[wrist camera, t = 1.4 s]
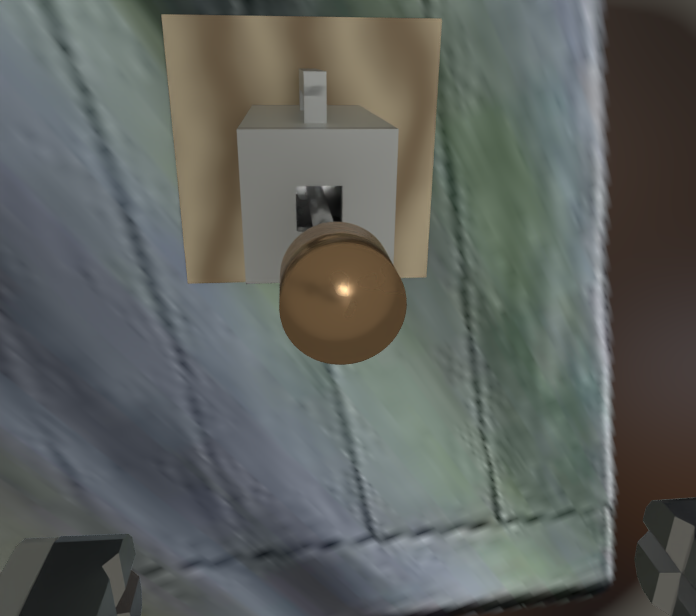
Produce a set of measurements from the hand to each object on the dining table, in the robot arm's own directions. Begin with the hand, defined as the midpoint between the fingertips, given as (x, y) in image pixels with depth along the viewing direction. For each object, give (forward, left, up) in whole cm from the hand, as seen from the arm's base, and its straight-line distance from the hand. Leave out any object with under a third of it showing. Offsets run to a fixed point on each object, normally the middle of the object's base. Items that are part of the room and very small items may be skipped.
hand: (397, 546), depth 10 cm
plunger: (0, 0, -31) cm, 31 cm away
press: (0, +1, -41) cm, 41 cm away
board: (0, 0, -42) cm, 42 cm away
